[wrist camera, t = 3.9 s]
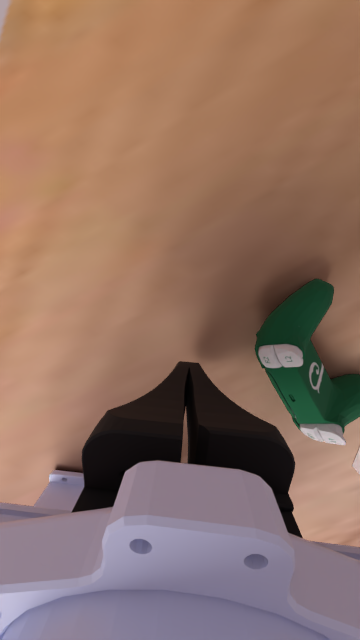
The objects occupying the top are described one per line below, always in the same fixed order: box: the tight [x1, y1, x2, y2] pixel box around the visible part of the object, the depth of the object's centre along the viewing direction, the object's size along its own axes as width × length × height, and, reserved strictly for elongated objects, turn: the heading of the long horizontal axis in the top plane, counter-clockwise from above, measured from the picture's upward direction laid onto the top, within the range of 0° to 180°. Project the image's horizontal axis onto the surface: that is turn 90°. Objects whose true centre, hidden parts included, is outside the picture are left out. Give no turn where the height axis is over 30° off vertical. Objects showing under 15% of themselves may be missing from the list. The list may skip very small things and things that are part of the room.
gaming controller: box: [255, 279, 360, 445], centre depth 11 cm, size 9×4×6 cm
